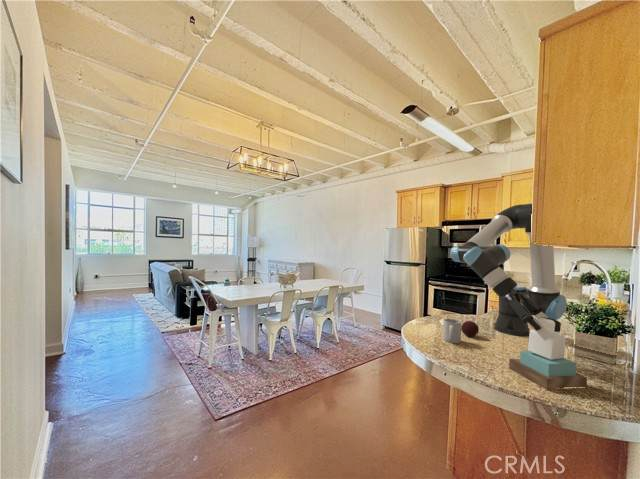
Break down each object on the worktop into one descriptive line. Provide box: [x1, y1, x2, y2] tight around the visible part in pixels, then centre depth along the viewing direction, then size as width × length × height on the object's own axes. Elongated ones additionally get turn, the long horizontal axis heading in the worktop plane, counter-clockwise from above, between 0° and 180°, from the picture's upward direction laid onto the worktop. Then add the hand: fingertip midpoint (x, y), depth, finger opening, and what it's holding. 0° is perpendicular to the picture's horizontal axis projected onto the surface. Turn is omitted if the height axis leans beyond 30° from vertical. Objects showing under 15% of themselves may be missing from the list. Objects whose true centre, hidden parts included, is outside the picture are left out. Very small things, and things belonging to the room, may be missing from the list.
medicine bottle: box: [527, 317, 567, 360], centre depth 91 cm, size 7×7×12 cm
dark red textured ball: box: [461, 320, 480, 337], centre depth 131 cm, size 7×8×7 cm
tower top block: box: [519, 350, 577, 377], centre depth 90 cm, size 10×10×4 cm
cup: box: [442, 318, 462, 344], centre depth 122 cm, size 7×10×9 cm
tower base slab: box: [508, 358, 588, 391], centre depth 91 cm, size 14×14×4 cm
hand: (552, 334), depth 90 cm, fingers open, 13 cm apart
